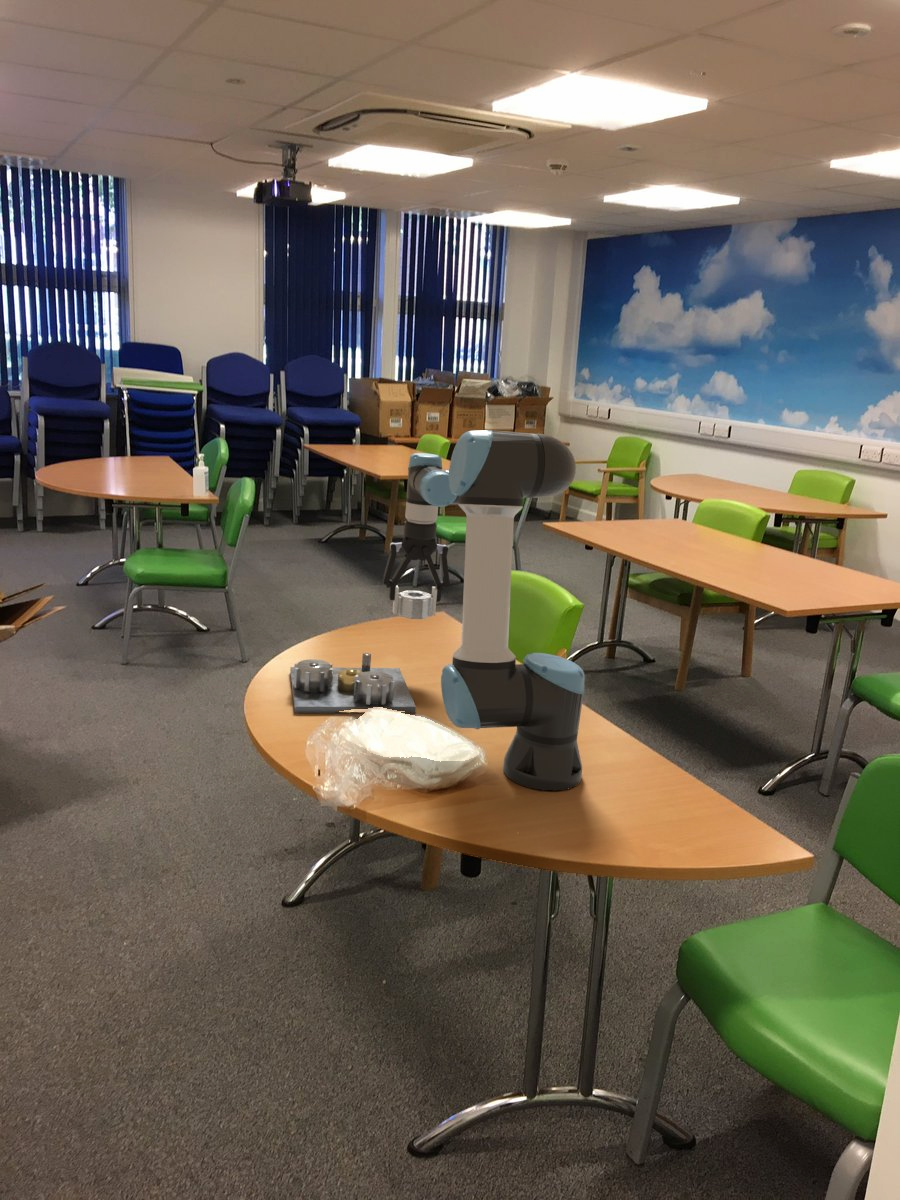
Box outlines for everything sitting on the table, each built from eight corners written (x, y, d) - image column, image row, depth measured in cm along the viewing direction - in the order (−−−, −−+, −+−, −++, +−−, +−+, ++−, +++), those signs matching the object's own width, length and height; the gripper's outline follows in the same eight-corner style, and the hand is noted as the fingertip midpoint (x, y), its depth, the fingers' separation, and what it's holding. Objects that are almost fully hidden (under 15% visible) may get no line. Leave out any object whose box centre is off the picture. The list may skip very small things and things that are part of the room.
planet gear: (434, 620, 219) (435, 600, 218) (398, 619, 218) (400, 598, 216) (428, 610, 227) (429, 590, 226) (393, 609, 226) (395, 589, 224)
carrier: (415, 713, 203) (417, 684, 201) (294, 713, 197) (296, 683, 195) (398, 674, 225) (400, 647, 223) (290, 673, 220) (291, 645, 218)
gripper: (462, 519, 222) (454, 610, 228) (373, 515, 218) (367, 607, 224) (468, 526, 215) (460, 619, 221) (377, 521, 211) (371, 617, 217)
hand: (413, 613), depth 222 cm, fingers closed on planet gear, 8 cm apart
